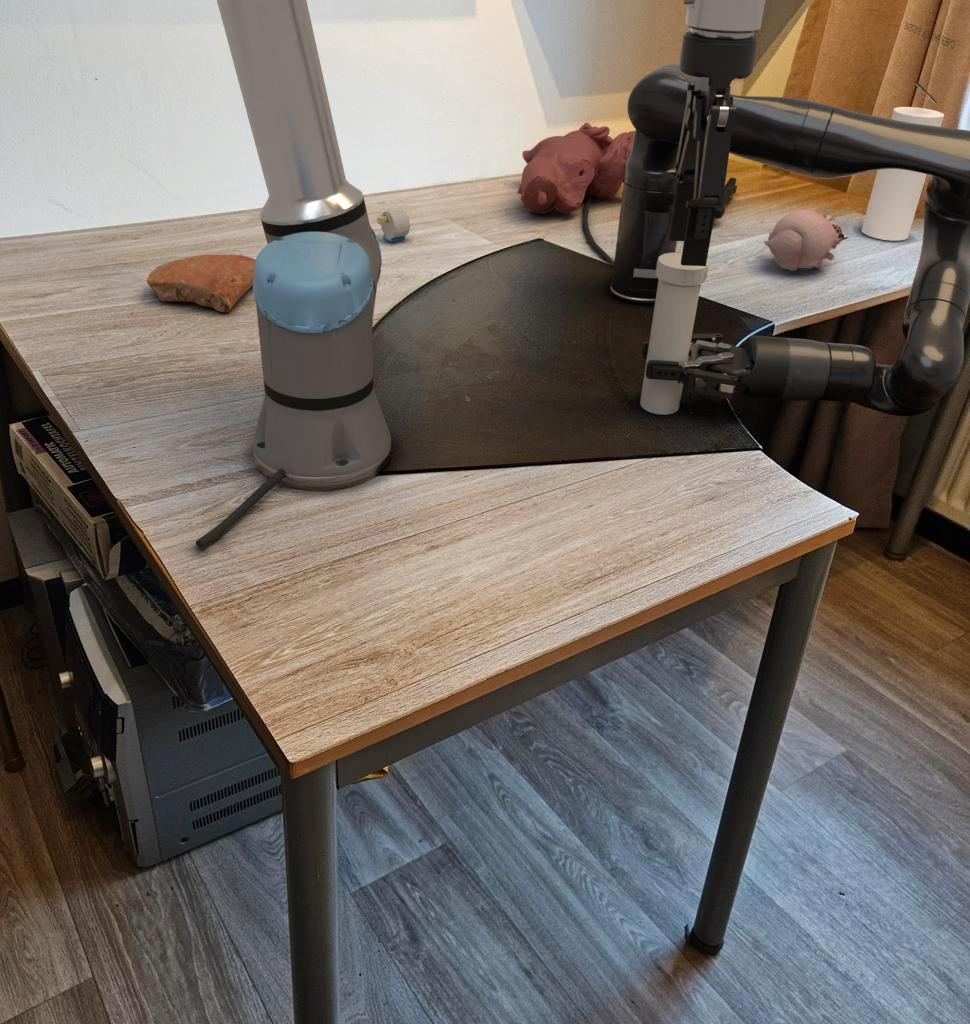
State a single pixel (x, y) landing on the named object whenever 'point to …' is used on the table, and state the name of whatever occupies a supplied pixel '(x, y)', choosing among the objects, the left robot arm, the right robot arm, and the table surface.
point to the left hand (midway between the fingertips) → (686, 251)
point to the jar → (669, 343)
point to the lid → (679, 271)
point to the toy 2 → (804, 239)
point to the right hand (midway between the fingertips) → (645, 359)
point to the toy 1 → (726, 196)
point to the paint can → (899, 180)
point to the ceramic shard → (204, 280)
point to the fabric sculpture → (574, 168)
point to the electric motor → (394, 225)
